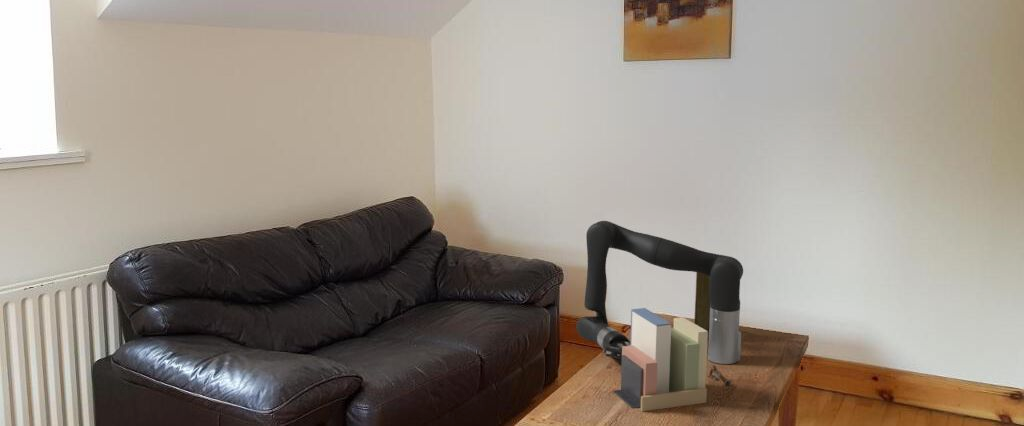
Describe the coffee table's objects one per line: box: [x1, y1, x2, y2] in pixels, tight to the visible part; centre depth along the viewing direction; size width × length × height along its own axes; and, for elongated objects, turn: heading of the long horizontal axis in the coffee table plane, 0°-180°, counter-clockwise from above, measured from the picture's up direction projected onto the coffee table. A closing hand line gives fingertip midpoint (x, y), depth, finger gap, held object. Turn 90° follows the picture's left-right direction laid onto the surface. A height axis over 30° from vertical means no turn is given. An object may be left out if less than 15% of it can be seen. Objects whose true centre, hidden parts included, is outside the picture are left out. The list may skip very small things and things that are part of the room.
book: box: [693, 272, 710, 340], centre depth 300 cm, size 16×6×25 cm, turn 168°
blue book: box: [629, 307, 672, 394], centre depth 249 cm, size 5×16×22 cm, turn 18°
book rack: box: [622, 316, 708, 412], centre depth 243 cm, size 21×16×20 cm
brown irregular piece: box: [707, 364, 732, 386], centre depth 256 cm, size 2×8×4 cm, turn 32°
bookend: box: [612, 355, 643, 409], centre depth 242 cm, size 3×12×11 cm, turn 18°
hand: (636, 359), depth 257 cm, fingers closed
